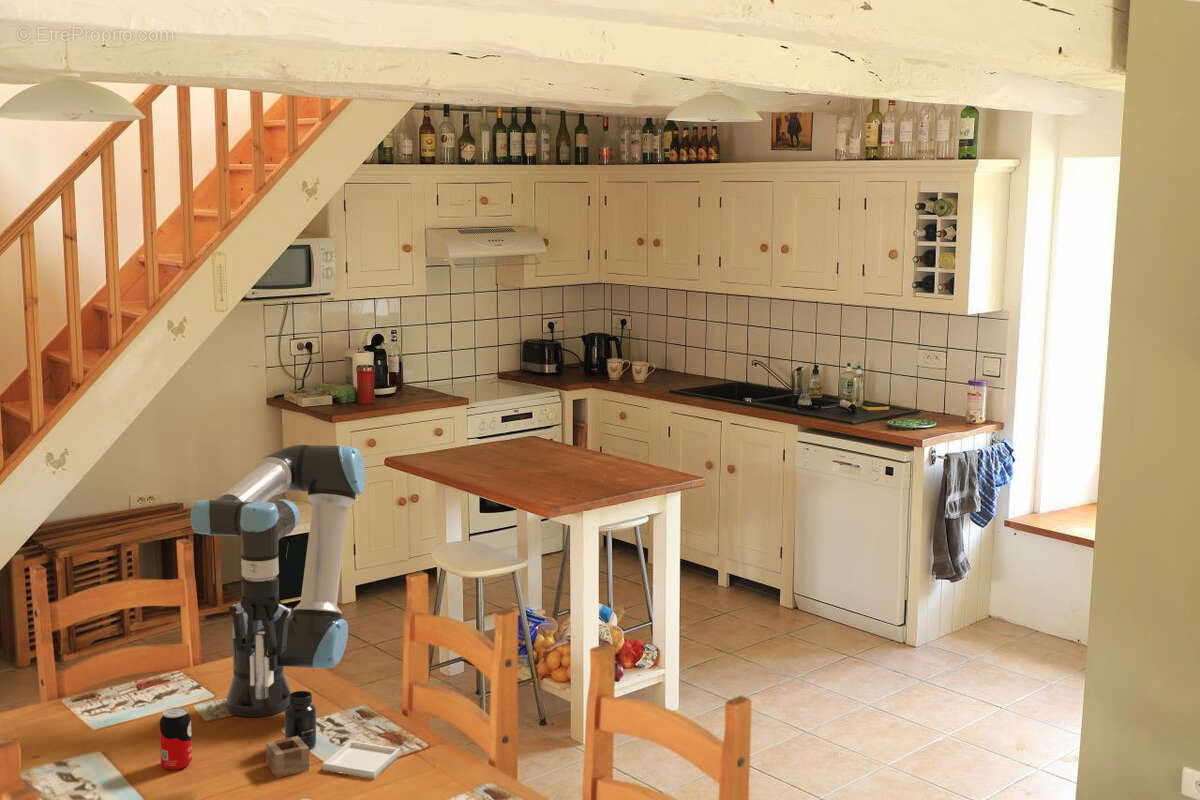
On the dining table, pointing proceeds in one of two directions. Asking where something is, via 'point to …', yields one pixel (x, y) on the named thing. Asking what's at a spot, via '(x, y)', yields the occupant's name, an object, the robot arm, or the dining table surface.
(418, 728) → the dining table surface
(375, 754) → the tray
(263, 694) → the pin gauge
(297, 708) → the supplement bottle
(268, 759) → the brown peg holder block
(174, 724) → the beverage can
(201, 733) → the dining table surface
